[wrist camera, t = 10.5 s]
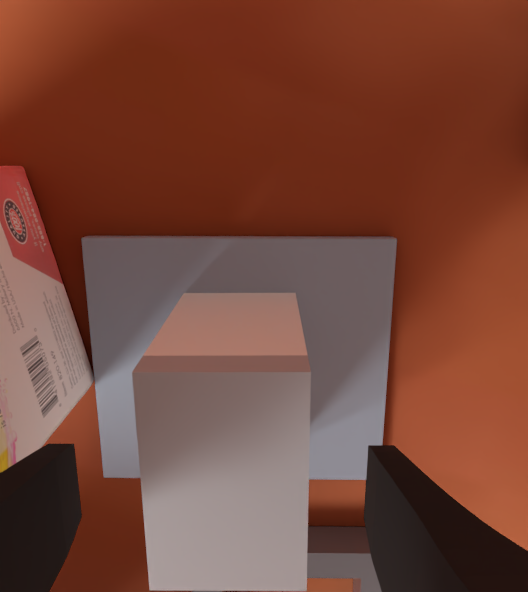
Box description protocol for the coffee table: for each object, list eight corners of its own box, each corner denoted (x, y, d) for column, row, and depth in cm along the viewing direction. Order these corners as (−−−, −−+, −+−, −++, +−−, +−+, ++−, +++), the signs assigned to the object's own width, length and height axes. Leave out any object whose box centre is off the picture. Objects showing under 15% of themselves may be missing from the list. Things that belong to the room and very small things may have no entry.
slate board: (108, 468, 21) (103, 477, 20) (87, 235, 18) (81, 238, 17) (376, 470, 20) (379, 479, 20) (392, 236, 18) (396, 238, 17)
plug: (191, 441, 20) (149, 590, 13) (183, 293, 18) (131, 372, 11) (293, 441, 19) (306, 591, 13) (295, 292, 18) (311, 372, 11)
